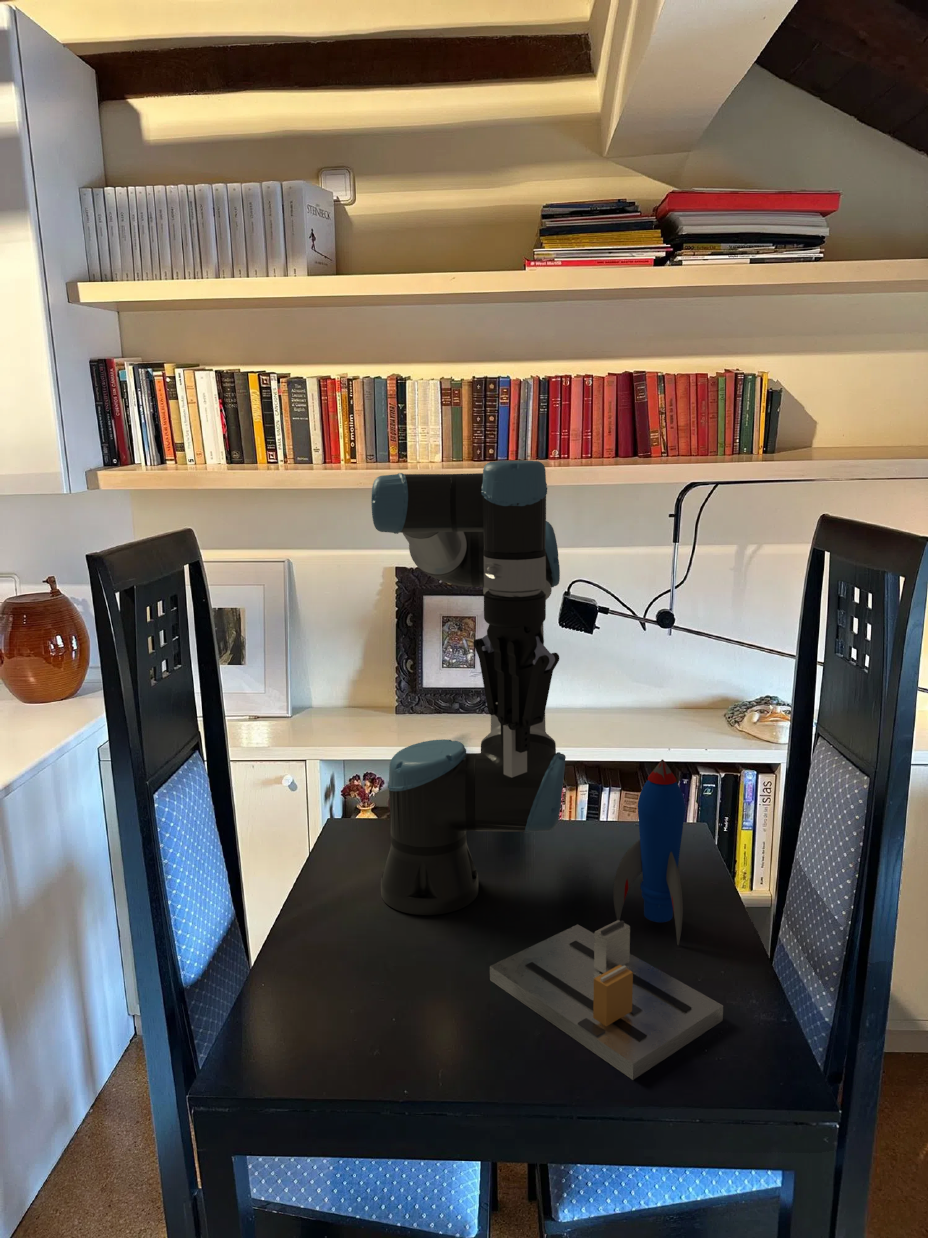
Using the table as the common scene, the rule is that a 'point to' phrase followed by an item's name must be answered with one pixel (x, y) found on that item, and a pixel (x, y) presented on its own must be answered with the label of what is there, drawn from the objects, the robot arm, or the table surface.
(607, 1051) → the console
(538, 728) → the robot arm
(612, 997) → the fader
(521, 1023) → the table surface
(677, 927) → the toy rocket
